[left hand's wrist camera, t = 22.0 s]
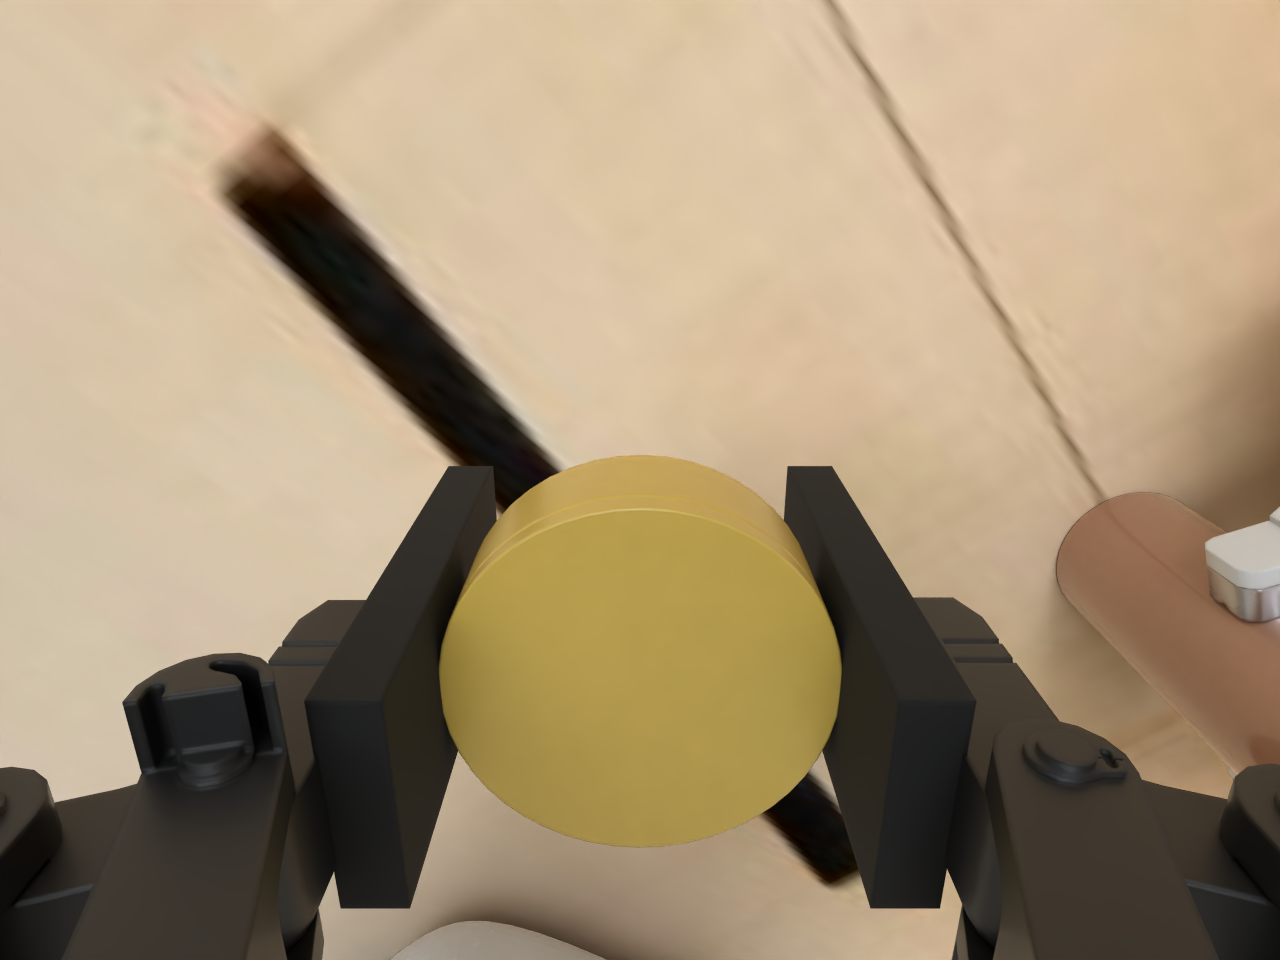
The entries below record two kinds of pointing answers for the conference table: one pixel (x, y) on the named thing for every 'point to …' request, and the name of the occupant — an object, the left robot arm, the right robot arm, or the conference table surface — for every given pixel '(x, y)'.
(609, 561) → the lid
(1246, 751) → the jar
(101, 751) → the conference table surface
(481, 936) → the projector
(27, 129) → the conference table surface
